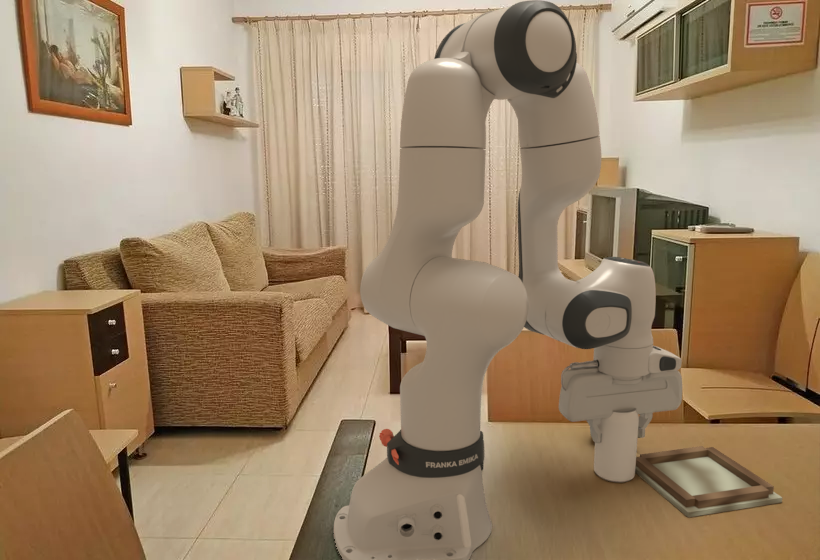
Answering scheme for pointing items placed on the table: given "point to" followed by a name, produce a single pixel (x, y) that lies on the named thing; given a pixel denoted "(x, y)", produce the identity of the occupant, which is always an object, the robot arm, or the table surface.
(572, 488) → the table surface
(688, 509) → the wooden picture frame
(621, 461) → the can
